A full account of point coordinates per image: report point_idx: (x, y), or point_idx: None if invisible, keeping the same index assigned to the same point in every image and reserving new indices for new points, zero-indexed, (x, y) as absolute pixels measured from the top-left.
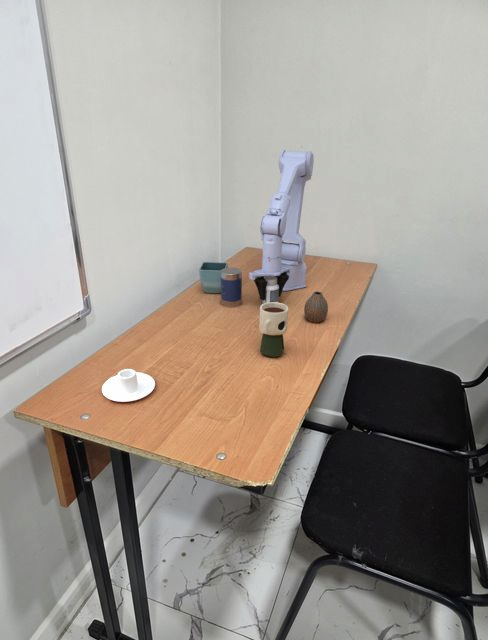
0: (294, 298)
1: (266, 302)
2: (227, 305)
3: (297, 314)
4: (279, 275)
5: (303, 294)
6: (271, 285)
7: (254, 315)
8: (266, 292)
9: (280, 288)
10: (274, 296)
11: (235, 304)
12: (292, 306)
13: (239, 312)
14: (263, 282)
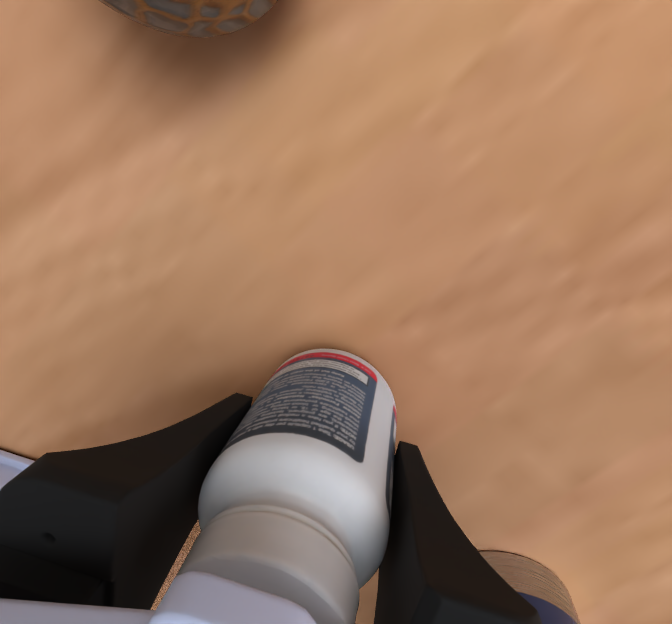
0: (95, 366)
1: (390, 415)
2: (572, 602)
3: (266, 147)
4: (114, 593)
5: (4, 366)
6: (320, 517)
7: (549, 375)
8: (386, 483)
9: (210, 436)
10: (330, 398)
11: (529, 573)
12: (195, 285)
13: (587, 484)
14: (518, 620)
